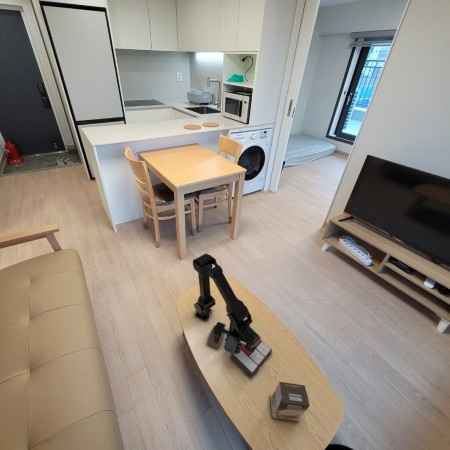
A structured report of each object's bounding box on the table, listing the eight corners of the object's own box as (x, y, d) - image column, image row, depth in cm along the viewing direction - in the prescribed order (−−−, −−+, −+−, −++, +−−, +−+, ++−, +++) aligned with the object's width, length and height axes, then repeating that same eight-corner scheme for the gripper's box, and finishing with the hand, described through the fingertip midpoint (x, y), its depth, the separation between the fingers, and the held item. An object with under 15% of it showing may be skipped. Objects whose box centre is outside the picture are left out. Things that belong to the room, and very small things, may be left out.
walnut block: (207, 344, 108) (207, 339, 105) (214, 329, 114) (214, 324, 111) (217, 349, 106) (217, 344, 104) (223, 334, 112) (224, 329, 110)
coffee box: (272, 418, 86) (281, 403, 77) (270, 398, 91) (278, 381, 82) (297, 421, 85) (310, 406, 76) (294, 400, 91) (305, 384, 81)
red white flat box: (272, 348, 103) (252, 373, 94) (270, 353, 106) (250, 378, 97) (252, 331, 110) (232, 353, 101) (251, 336, 112) (231, 358, 103)
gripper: (208, 334, 94) (207, 353, 103) (252, 355, 88) (248, 373, 97) (218, 312, 103) (217, 331, 112) (260, 329, 96) (254, 348, 105)
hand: (233, 345), depth 106 cm, fingers closed
